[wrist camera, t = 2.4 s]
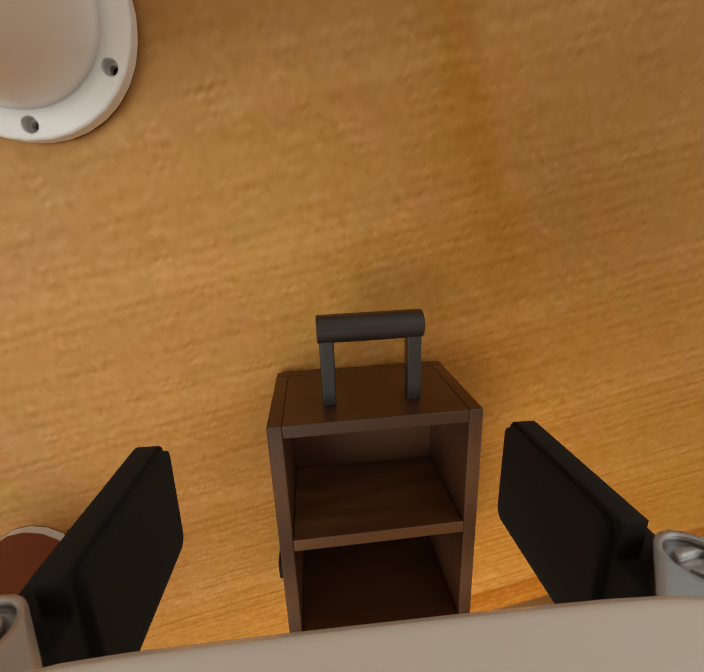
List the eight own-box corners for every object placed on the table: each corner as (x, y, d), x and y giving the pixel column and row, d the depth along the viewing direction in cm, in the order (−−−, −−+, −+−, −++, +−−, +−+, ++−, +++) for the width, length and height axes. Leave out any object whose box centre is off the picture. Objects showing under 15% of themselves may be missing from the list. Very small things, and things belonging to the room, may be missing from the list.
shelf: (269, 299, 26) (254, 329, 19) (440, 289, 27) (490, 314, 20) (295, 549, 32) (291, 646, 25) (433, 533, 34) (469, 621, 26)
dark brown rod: (279, 547, 33) (278, 563, 31) (446, 528, 34) (453, 542, 33) (281, 562, 33) (280, 578, 32) (446, 542, 35) (452, 557, 33)
